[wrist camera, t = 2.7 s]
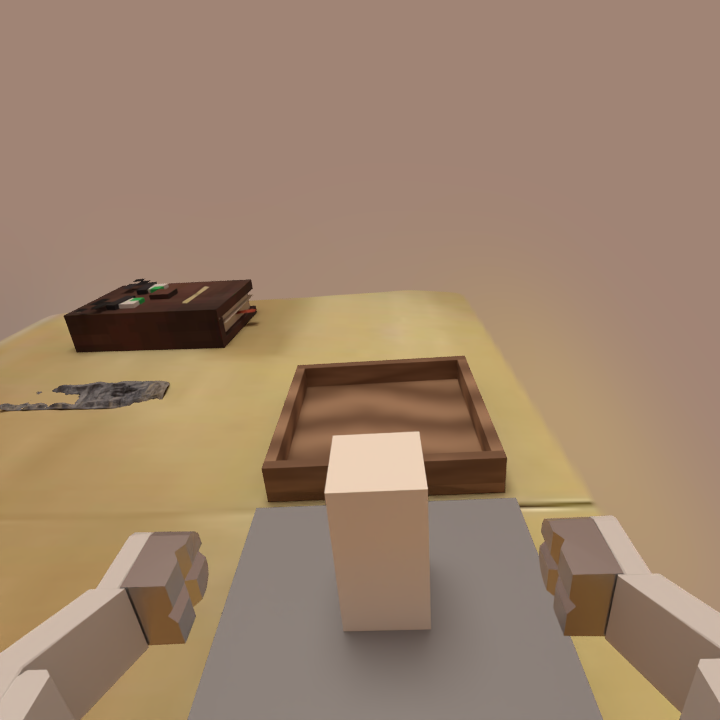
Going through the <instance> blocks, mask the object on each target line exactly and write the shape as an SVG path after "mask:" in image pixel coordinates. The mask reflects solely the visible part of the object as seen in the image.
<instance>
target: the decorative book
mask: <svg viewBox="0 0 720 720" xmlns="http://www.w3.org/2000/svg"><path fill="white" fill-rule="evenodd" d="M143 280H144V279H138V280H135V281H134V282H137V281H141V282H140V283H138V284H129V285H127V286H122V287H120V288H118V289H116V290H114V291H112V292H110V293H108V294H106V295H104V296H102V297H100V298H98V299H96V300H94V301H92V302H90V303H88V304H87V305H84V306H82V307H80V308H78V309H76V310H74V311H72V312H70V313H68V314H66V315H64V318H65V321H66V323H67V326H68V329H69V332H70V335H71V337H72V340H73V343H74V346H75V349H76V352H103V351H135V350H168V349H201V348H225V346H226V345H227V344H228V343H229V342H230V341H231V340H232V339H233V338H234V337H235V336H236V334H237V333H238V332H239V331H240V330H241V329H242V328H243V327H244V326H245V325H246V324H247V322H248V321H249V320H250V319H251V318H252V317H253V316H254V315H255V314H256V313H257V311H256V306H250V305H249V299H250V297H251V296H252V295H248V294H247V293H248V292H249V291H250V290H251V289H252V282H251V280H232V281H212V282H191V283H171V284H157V283H156V282H152V283H148V282H149V281H143Z"/></svg>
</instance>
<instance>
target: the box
mask: <svg viewBox="0 0 720 720" xmlns="http://www.w3.org/2000/svg"><path fill="white" fill-rule="evenodd" d="M418 431H419V434H420V440H421V447H422V454H423V460H424V467H425V474H426V480H427V487H428V495H448V494H473V493H498V492H505V480H506V463H507V457H506V454H505V452H504V450H503V447H502V445H501V442H500V440H499V438H498V435H497V433H496V430H495V428H494V426H493V423H492V421H491V418H490V416H489V413H488V411H487V409H486V406H485V404H484V401H483V399H482V397H481V394H480V392H479V389H478V387H477V385H476V382H475V380H474V377H473V375H472V373H471V370H470V368H469V365H468V363H467V361H466V358H465V356H452V357H435V358H418V359H400V360H383V361H366V362H348V363H331V364H314V365H298V366H297V369H296V372H295V375H294V378H293V381H292V383H291V386H290V389H289V392H288V395H287V398H286V401H285V403H284V406H283V409H282V412H281V415H280V418H279V421H278V423H277V426H276V429H275V432H274V435H273V438H272V441H271V443H270V446H269V449H268V452H267V455H266V458H265V461H264V463H263V466H262V473H263V478H264V483H265V488H266V493H267V498H268V502H275V501H300V500H325V494H324V493H325V486H326V479H327V472H328V465H329V459H330V452H331V445H332V438H333V436H336V435H356V434H377V433H398V432H418Z"/></svg>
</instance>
